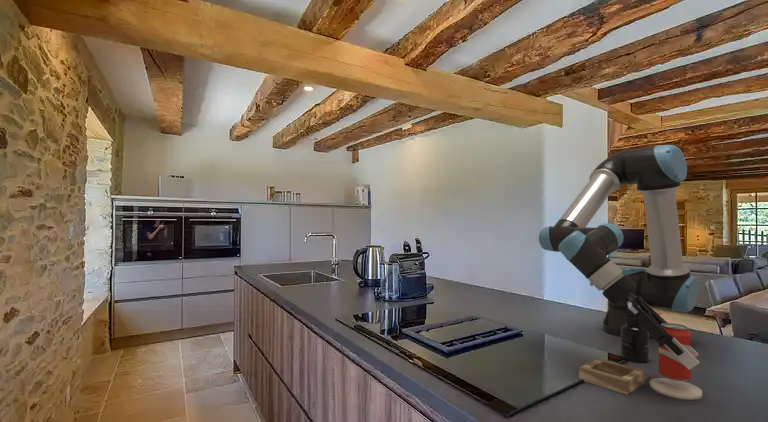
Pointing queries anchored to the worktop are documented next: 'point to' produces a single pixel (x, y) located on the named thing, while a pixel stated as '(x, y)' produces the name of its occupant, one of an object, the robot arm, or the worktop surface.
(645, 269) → the robot arm
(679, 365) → the beverage can
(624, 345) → the supplement bottle
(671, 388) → the coaster
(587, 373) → the oak holder
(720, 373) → the worktop surface
